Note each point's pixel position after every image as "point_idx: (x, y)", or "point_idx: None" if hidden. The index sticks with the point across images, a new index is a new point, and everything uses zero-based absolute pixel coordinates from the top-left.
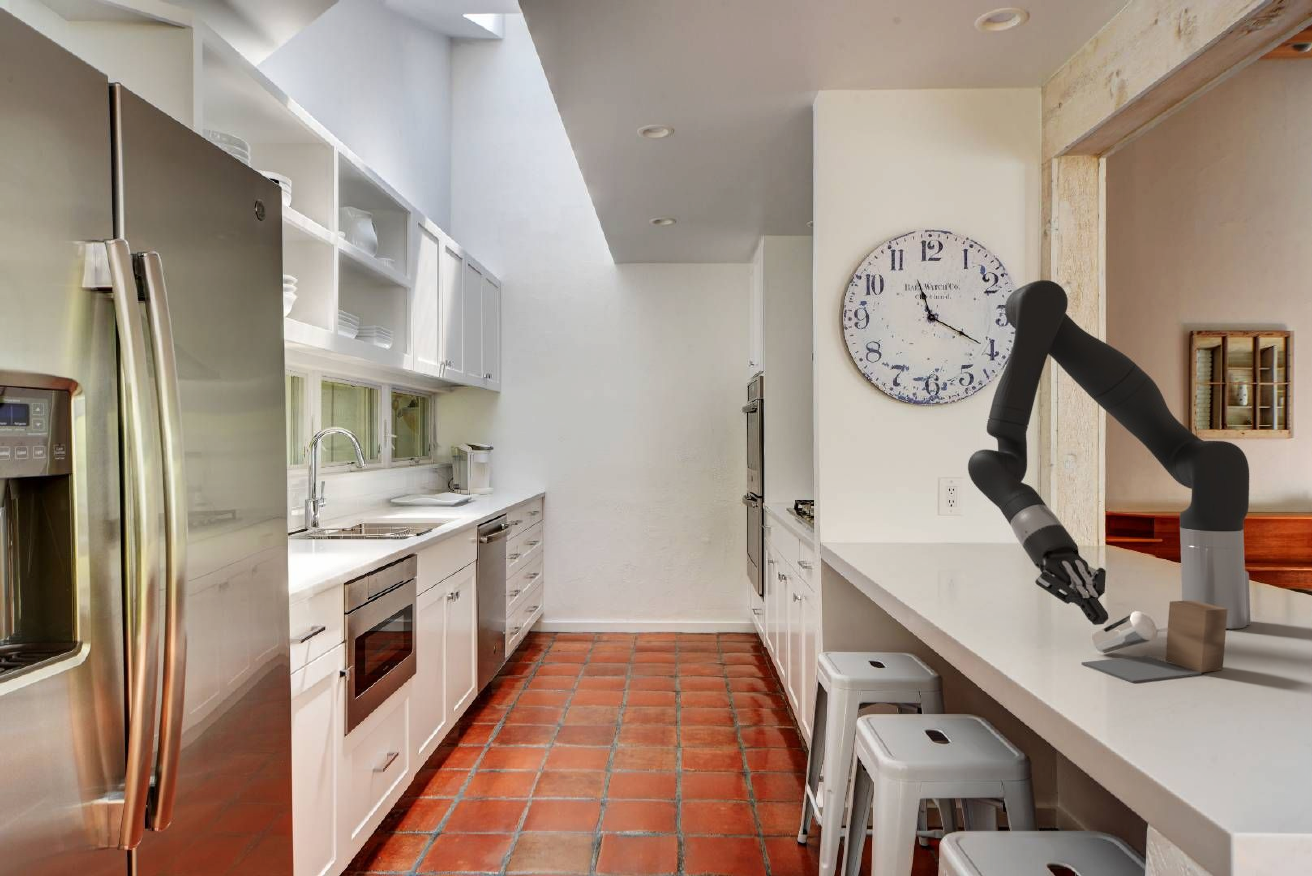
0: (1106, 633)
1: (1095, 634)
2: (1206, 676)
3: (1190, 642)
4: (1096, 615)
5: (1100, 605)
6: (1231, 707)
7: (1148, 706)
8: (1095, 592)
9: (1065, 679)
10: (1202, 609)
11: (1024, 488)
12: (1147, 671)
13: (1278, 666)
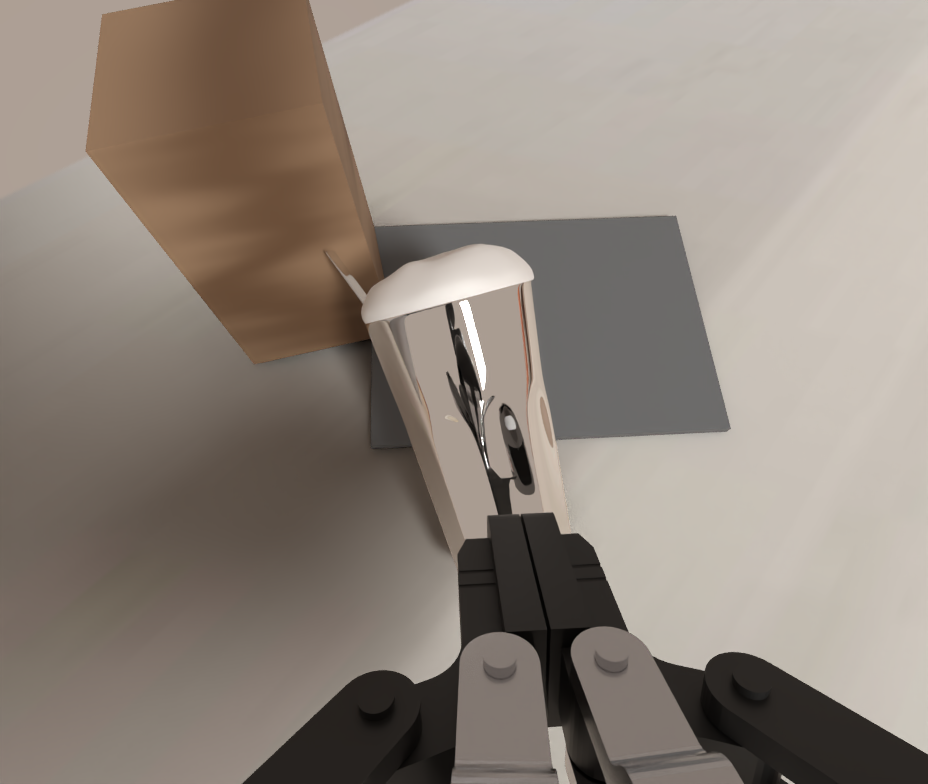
0: (559, 462)
1: None
2: (372, 220)
3: (357, 182)
4: (567, 538)
5: (501, 573)
6: (550, 43)
7: (760, 84)
8: (469, 681)
9: (887, 299)
10: None
11: None
12: (548, 277)
13: (15, 243)
